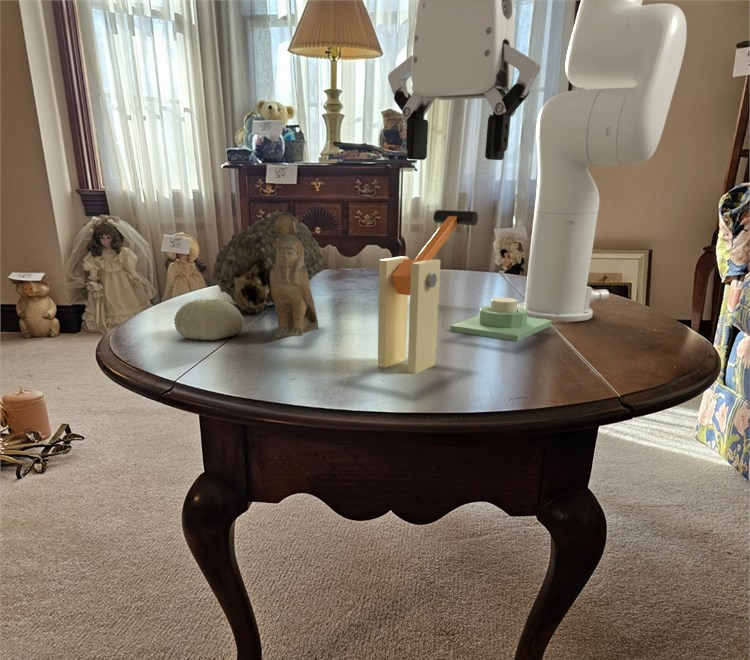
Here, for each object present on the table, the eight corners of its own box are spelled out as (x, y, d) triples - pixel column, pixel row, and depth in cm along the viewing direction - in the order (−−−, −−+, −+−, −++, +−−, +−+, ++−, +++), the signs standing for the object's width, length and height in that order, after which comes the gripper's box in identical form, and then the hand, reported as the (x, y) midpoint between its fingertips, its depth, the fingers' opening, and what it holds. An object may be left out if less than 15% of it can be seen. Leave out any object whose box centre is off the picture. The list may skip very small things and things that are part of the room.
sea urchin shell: (174, 315, 95) (210, 274, 93) (217, 352, 98) (252, 314, 96) (161, 328, 87) (200, 284, 85) (208, 369, 90) (246, 327, 88)
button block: (487, 326, 100) (489, 299, 98) (550, 335, 95) (553, 307, 93) (449, 341, 91) (451, 312, 89) (516, 352, 86) (519, 321, 84)
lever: (441, 222, 77) (437, 203, 75) (479, 224, 74) (476, 204, 72) (386, 292, 71) (380, 274, 70) (425, 297, 69) (420, 278, 67)
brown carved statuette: (304, 365, 88) (292, 227, 77) (265, 362, 89) (248, 225, 78) (324, 328, 97) (316, 199, 86) (288, 326, 98) (276, 198, 87)
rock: (281, 195, 112) (266, 179, 98) (337, 262, 116) (332, 256, 101) (206, 271, 116) (182, 266, 102) (263, 333, 119) (248, 337, 105)
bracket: (401, 360, 81) (404, 251, 76) (465, 372, 77) (474, 257, 71) (343, 383, 73) (341, 261, 67) (411, 398, 68) (416, 269, 62)
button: (497, 309, 93) (498, 296, 93) (520, 312, 92) (521, 299, 91) (485, 313, 91) (486, 300, 90) (509, 316, 89) (511, 303, 88)
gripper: (565, -41, 62) (542, 160, 70) (412, -17, 71) (406, 160, 79) (534, -63, 57) (512, 158, 65) (372, -33, 66) (370, 158, 73)
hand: (454, 159), depth 72 cm, fingers open, 9 cm apart
